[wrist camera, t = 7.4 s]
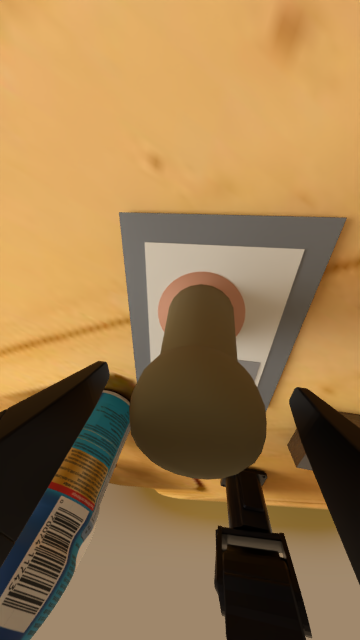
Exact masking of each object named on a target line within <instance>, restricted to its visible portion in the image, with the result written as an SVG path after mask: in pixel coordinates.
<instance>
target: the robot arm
mask: <svg viewBox="0 0 360 640" xmlns="http://www.w3.org/2000/svg"><path fill="white" fill-rule="evenodd" d="M109 375H110V374H109V369H108V364H107V362H103V361H98V362H96V363H94V364H92V365H90V366H88V367H86V368H84V369H82V370H80V371H78V372H76V373H75V374H73V375H71V376H69V377H67V378H65V379H63V380H61V381H59V382H57V383H55V384H54V385H52V386H50V387H48V388H46V389H44V390H42V391H40V392H38V393H36V394H34V395H32V396H31V397H29V398H27V399H25V400H23V401H21V402H19V403H17V404H15V405H13V406H11V407H9V408H8V409H6V410H4V411H2V412H0V568H1V566H2V565H3V563H4V561H5V560H6V558H7V556H8V554H9V553H10V551H11V549H12V548H13V546H14V544H15V542H16V541H17V539H18V537H19V536H20V534H21V532H22V530H23V529H24V527H25V525H26V524H27V522H28V520H29V519H30V517H31V515H32V514H33V512H34V510H35V508H36V507H37V505H38V503H39V502H40V500H41V498H42V497H43V495H44V493H45V492H46V490H47V488H48V487H49V485H50V483H51V481H52V480H53V478H54V476H55V475H56V473H57V471H58V470H59V468H60V466H61V465H62V463H63V461H64V459H65V458H66V456H67V454H68V453H69V451H70V449H71V448H72V446H73V444H74V443H75V441H76V439H77V437H78V436H79V434H80V432H81V431H82V429H83V427H84V426H85V424H86V422H87V421H88V419H89V417H90V416H91V414H92V412H93V410H94V409H95V407H96V405H97V403H98V401H99V398H100V396H101V394H102V392H103V390H104V388H105V386H106V384H107V381H108V379H109ZM289 404H290V408H291V411H292V414H293V417H294V421H295V424H296V427H297V430H298V434H299V437H300V440H301V443H302V445H303V448H304V450H305V453H306V455H307V458H308V460H309V463H310V465H311V467H312V470H313V472H314V475H315V477H316V480H317V482H318V484H319V487H320V489H321V492H322V494H323V497H324V499H325V502H326V504H327V506H328V509H329V511H330V514H331V516H332V518H333V521H334V523H335V526H336V528H337V531H338V533H339V535H340V538H341V541H342V543H343V545H344V548H345V550H346V553H347V555H348V558H349V560H350V562H351V565H352V567H353V570H354V572H355V574H356V577H357V580H358V582H359V584H360V428H359V427H358V426H357V425H355V424H354V423H353V422H351V421H350V420H349V419H347V418H346V417H345V416H343V415H342V414H341V413H339V412H338V411H337V410H335V409H334V408H333V407H331V406H330V405H329V404H327V403H326V402H325V401H323V400H322V399H320V398H319V397H318V396H316V395H315V394H314V393H312V392H311V391H310V390H308V389H306V388H300V387H297V388H295V389H294V391H293V393H292V395H291V398H290V400H289ZM266 478H267V474H266V473H265V472H260V471H255V470H250V469H244V470H243V471H241V472H240V473H238V474H236V475H233V476H229V477H226V478H222V479H221V486H223V487H226V494H227V506H228V518H229V528H226V527H222V526H218V529H217V530H216V562H215V580H214V584H215V589H216V591H217V593H218V595H219V601H220V608H221V613H222V616H225V623H226V637H227V640H306V638H305V636H306V637H309V638H312V635H311V630H310V626H309V622H308V617H307V614H306V610H305V606H304V602H303V599H302V595H301V591H300V588H299V584H298V581H297V578H296V574H295V571H294V567H293V564H292V560H291V557H290V553H289V550H288V546H287V543H286V539H285V536H284V533H279V534H278V533H272V529H271V525H270V521H269V516H268V512H267V508H266V503H265V499H264V495H263V491H262V485H263V484H264V482H265V480H266ZM279 553H283V557H284V558H282V557H280V556H279Z"/></svg>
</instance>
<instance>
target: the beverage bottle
mask: <svg viewBox="0 0 360 640" xmlns="http://www.w3.org/2000/svg"><path fill="white" fill-rule="evenodd" d="M129 406H130V402H129V401H128V400H127V399H126V398H124V397H123V396H121V395H119V394H117V393H115V392H112V391H108V390H103V392H102V394H101V396H100V398H99V401H98V403H97V405H96V407H95V409H94V410H93V412H92V414H91V416H90V417H89V419H88V421H87V422H86V424H85V426H84V427H83V429H82V431H81V432H80V434H79V436H78V437H77V439H76V441H75V443H74V444H73V446H72V448H71V449H70V451H69V453H68V454H67V456H66V458H65V459H64V461H63V463H62V465H61V466H60V468H59V470H58V471H57V473H56V475H55V476H54V478H53V480H52V481H51V483H50V485H49V487H48V488H47V490H46V492H45V493H44V495H43V497H42V498H41V500H40V502H39V503H38V505H37V507H36V508H35V510H34V512H33V514H32V515H31V517H30V519H29V520H28V522H27V524H26V525H25V527H24V529H23V530H22V532H21V534H20V536H19V537H18V539H17V541H16V542H15V544H14V546H13V548H12V549H11V551H10V553H9V554H8V556H7V558H6V560H5V561H4V563H3V565H2V566H1V568H0V640H30V639H31V638H32V636H33V635H34V634H35V633H36V631H37V630H38V629H39V627H40V626H41V625H42V623H43V622H44V621H45V619H46V618H47V617H48V615H49V614H50V613H51V611H52V610H53V608H54V607H55V605H56V604H57V602H58V601H59V599H60V598H61V596H62V594H63V593H64V591H65V589H66V587H67V585H68V584H69V582H70V580H71V578H72V576H73V574H74V571H75V567H76V558H77V554H78V551H79V548H80V546H81V545H82V543H83V542H84V541H85V539H86V538H87V537H88V535H89V534H90V533H91V531H92V529H93V527H94V524H95V522H96V520H97V517H98V514H99V508H100V503H101V501H102V498H103V496H104V493H105V491H106V488H107V486H108V483H109V481H110V478H111V476H112V473H113V471H114V468H115V466H116V463H117V461H118V458H119V455H120V453H121V450H122V448H123V446H124V443H125V441H126V438H127V436H128V434H129V432H130V429H131V428H130V419H129Z"/></svg>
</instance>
